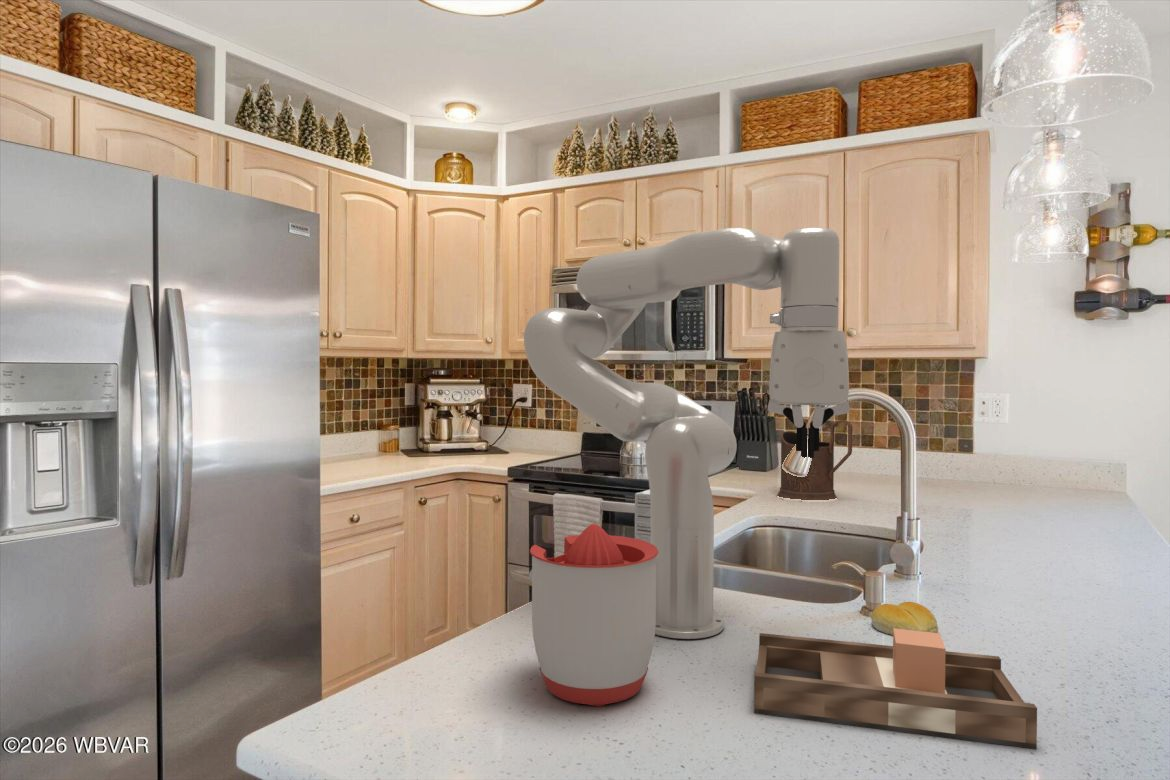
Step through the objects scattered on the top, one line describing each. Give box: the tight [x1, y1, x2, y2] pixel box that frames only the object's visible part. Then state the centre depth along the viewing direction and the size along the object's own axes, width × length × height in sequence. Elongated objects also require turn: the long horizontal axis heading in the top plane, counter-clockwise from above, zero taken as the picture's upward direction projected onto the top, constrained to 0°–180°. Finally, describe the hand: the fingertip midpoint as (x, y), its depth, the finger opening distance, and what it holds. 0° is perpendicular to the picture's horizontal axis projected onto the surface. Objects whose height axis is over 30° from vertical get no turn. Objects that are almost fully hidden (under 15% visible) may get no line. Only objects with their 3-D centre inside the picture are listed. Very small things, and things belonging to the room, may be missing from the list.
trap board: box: [753, 632, 1038, 750], centre depth 83 cm, size 28×14×4 cm, turn 74°
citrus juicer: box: [528, 523, 658, 707], centre depth 88 cm, size 16×17×20 cm
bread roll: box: [870, 601, 939, 636], centre depth 107 cm, size 8×9×4 cm
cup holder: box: [776, 419, 853, 500], centre depth 222 cm, size 18×24×25 cm
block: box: [892, 628, 946, 694], centre depth 82 cm, size 5×5×5 cm
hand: (807, 456), depth 97 cm, fingers closed
